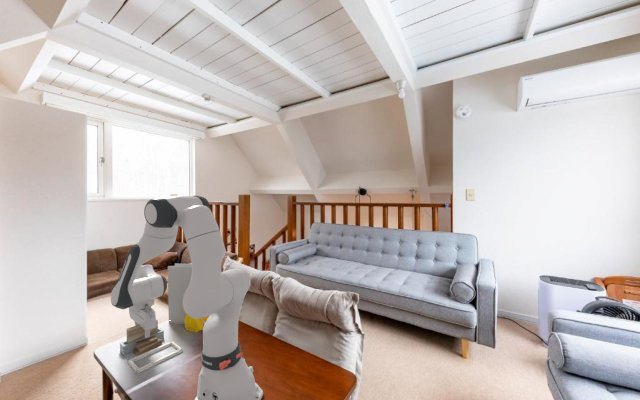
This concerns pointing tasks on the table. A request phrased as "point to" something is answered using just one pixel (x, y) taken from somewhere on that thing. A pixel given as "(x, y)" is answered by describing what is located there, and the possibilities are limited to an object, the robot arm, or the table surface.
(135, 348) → the offcut
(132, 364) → the tray
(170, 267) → the grey tall block
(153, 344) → the offcut
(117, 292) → the robot arm
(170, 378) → the table surface
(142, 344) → the offcut
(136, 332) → the maple sheet
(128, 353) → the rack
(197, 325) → the figure statuette
